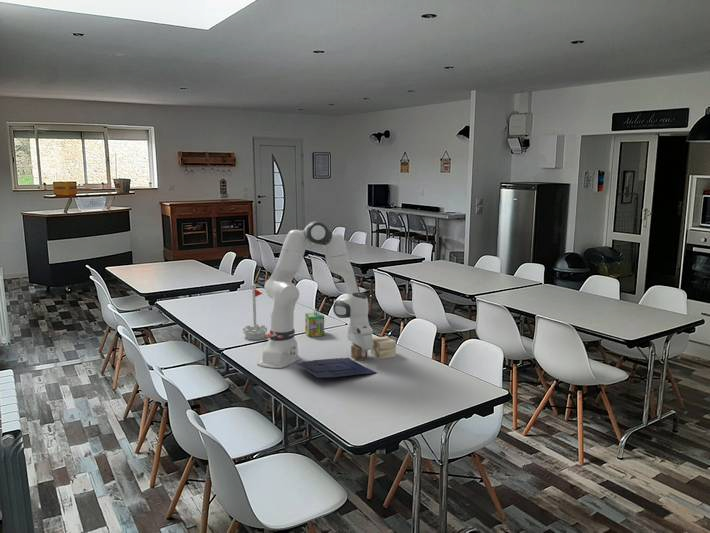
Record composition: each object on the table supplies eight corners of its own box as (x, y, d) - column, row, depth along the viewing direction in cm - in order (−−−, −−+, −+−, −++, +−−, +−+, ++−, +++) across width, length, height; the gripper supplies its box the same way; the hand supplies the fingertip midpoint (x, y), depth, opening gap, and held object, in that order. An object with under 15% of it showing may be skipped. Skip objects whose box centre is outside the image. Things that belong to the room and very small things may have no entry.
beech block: (395, 356, 262) (395, 341, 261) (379, 359, 258) (379, 343, 257) (386, 351, 270) (386, 336, 269) (371, 353, 266) (371, 338, 265)
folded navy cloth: (293, 368, 243) (293, 360, 243) (347, 363, 260) (348, 355, 259) (319, 385, 223) (320, 376, 223) (376, 378, 240) (377, 370, 239)
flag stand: (239, 338, 291) (236, 285, 286) (250, 332, 303) (248, 280, 298) (260, 341, 287) (258, 286, 282) (271, 334, 299) (269, 282, 294)
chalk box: (305, 333, 301) (304, 307, 299) (320, 331, 304) (320, 306, 302) (308, 337, 293) (308, 311, 290) (324, 336, 295) (324, 310, 293)
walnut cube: (367, 359, 259) (367, 347, 258) (356, 361, 256) (356, 349, 255) (361, 355, 264) (361, 343, 263) (351, 357, 261) (351, 345, 260)
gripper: (344, 321, 265) (344, 348, 267) (363, 332, 247) (363, 360, 249) (355, 320, 268) (355, 346, 270) (374, 330, 250) (374, 358, 252)
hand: (359, 353), depth 260 cm, fingers open, 6 cm apart
